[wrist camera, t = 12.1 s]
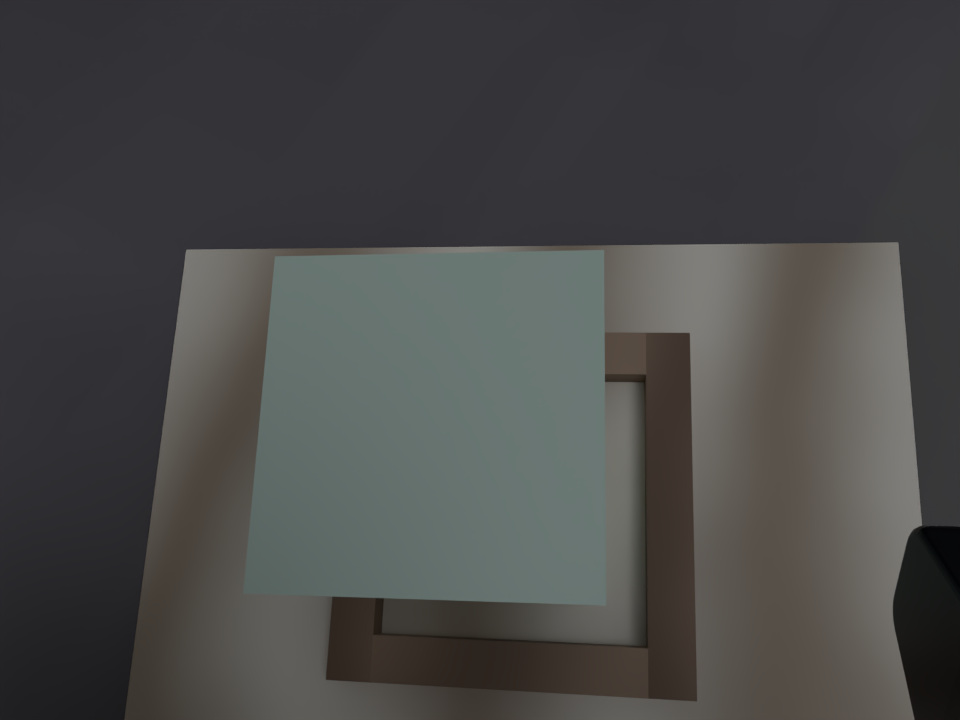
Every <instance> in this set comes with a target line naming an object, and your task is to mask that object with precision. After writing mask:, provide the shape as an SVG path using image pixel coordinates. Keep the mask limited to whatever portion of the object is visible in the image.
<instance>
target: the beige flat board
mask: <svg viewBox="0 0 960 720" xmlns="http://www.w3.org/2000/svg"><path fill="white" fill-rule="evenodd" d="M576 250H604V316H605V480H606V606H605V605H575V604H544V603H514V602H484V601H454V600H423V599H393V598H363V597H332V596H302V595H272V594H243V590H244V580H245V569H246V558H247V548H248V537H249V527H250V516H251V505H252V495H253V484H254V473H255V463H256V452H257V442H258V431H259V420H260V410H261V399H262V388H263V378H264V367H265V357H266V346H267V335H268V325H269V314H270V303H271V293H272V282H273V272H274V261H275V256H320V255H371V254H423V253H474V252H525V251H576ZM919 526H922V520H921V508H920V496H919V484H918V473H917V461H916V449H915V437H914V425H913V413H912V401H911V389H910V377H909V365H908V353H907V341H906V329H905V317H904V305H903V293H902V281H901V270H900V258H899V246H898V243H804V244H706V245H608V246H510V247H412V248H314V249H216V250H186V257H185V264H184V272H183V279H182V287H181V294H180V302H179V310H178V317H177V325H176V332H175V340H174V347H173V355H172V363H171V370H170V378H169V385H168V393H167V400H166V408H165V415H164V423H163V431H162V438H161V446H160V453H159V461H158V468H157V476H156V484H155V491H154V499H153V506H152V514H151V521H150V529H149V536H148V544H147V552H146V559H145V567H144V574H143V582H142V589H141V597H140V605H139V612H138V620H137V627H136V635H135V642H134V650H133V657H132V665H131V673H130V680H129V688H128V695H127V703H126V710H125V718H124V720H914V715H913V711H912V706H911V702H910V697H909V692H908V688H907V683H906V679H905V674H904V670H903V665H902V660H901V656H900V651H899V647H898V642H897V638H896V633H895V628H894V622H893V598H894V593H895V589H896V585H897V581H898V577H899V572H900V568H901V564H902V560H903V556H904V552H905V547H906V543H907V540H908V537H909V535H910V533H911V532H912V530H913V529H915V528H917V527H919Z"/></svg>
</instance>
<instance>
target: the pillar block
mask: <svg viewBox="0 0 960 720" xmlns="http://www.w3.org/2000/svg"><path fill="white" fill-rule="evenodd" d="M243 594H272V595H302V596H332V597H363V598H393V599H423V600H454V601H484V602H514V603H544V604H575V605H605V606H606V480H605V316H604V250H576V251H525V252H474V253H423V254H371V255H320V256H275V261H274V272H273V282H272V293H271V303H270V314H269V325H268V335H267V346H266V357H265V367H264V378H263V388H262V399H261V410H260V420H259V431H258V442H257V452H256V463H255V473H254V484H253V495H252V505H251V516H250V527H249V537H248V548H247V558H246V569H245V580H244V590H243Z"/></svg>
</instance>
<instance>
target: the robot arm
mask: <svg viewBox="0 0 960 720" xmlns="http://www.w3.org/2000/svg"><path fill="white" fill-rule="evenodd" d="M893 622H894V628H895V633H896V638H897V642H898V647H899V651H900V656H901V660H902V665H903V670H904V674H905V679H906V683H907V688H908V692H909V697H910V702H911V706H912V711H913V715H914V720H960V527H953V526H919V527H917V528H915V529H913V530H912V532H911V533H910V535H909V537H908V540H907V543H906V547H905V552H904V556H903V560H902V564H901V568H900V572H899V577H898V581H897V585H896V589H895V593H894V598H893Z"/></svg>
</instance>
